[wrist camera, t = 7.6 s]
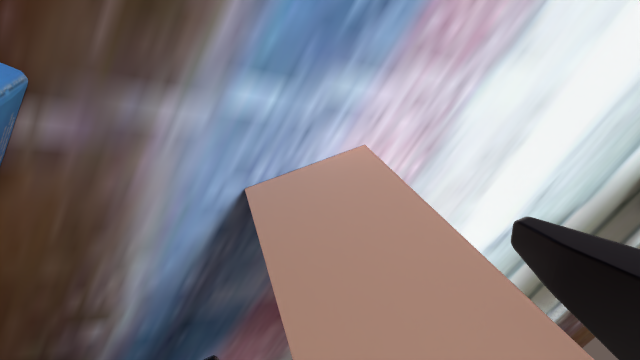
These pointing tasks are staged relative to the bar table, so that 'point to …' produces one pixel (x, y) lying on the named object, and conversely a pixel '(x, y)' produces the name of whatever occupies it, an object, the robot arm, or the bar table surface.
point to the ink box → (9, 101)
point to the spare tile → (387, 273)
